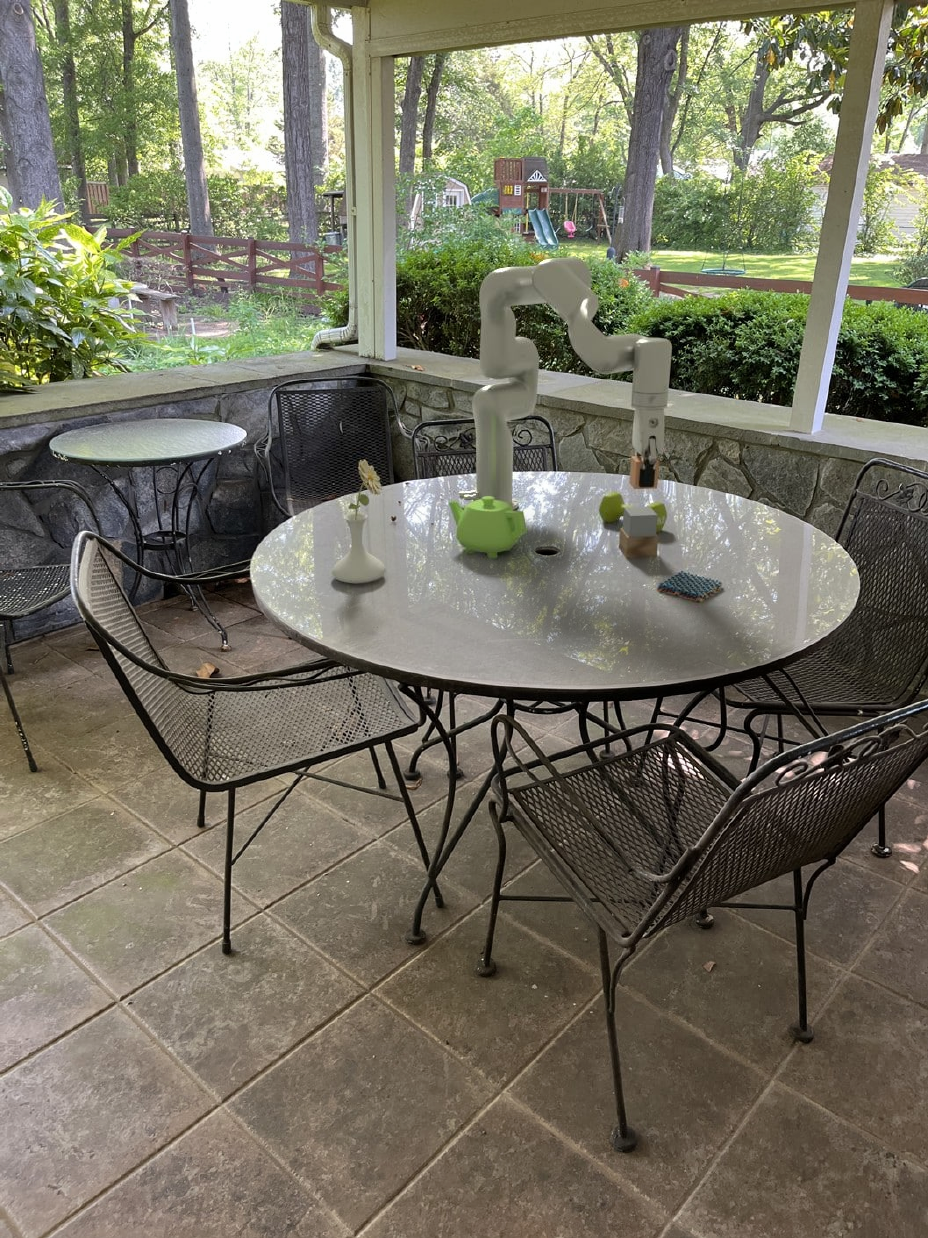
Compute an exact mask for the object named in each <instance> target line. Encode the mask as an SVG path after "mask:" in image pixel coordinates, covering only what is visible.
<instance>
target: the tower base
mask: <svg viewBox="0 0 928 1238" xmlns="http://www.w3.org/2000/svg"><path fill="white" fill-rule="evenodd" d="M657 534H658V533H656V536H653V537H628V535H627V534H626V533H625V531H624V530H623V527H620V530H619V538H618V539H619V542H618V548H619V550H620V552H621V553H622V555H623V556H624V558H625V559H644V558H645V559H646V558H648V559H649V558H650V559H651V558H657V557H658V556H657V555H658V547H659V546H658V545H659V536H658V535H657Z"/></svg>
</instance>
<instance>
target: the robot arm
mask: <svg viewBox="0 0 928 1238" xmlns="http://www.w3.org/2000/svg"><path fill="white" fill-rule="evenodd" d="M591 284H592V273H591V269H590V267H589V266H588V264H587V263H586V262H585V261H584V260H582V259H581V258H578V257H575V256H573V257H572V256H571V257H554V258H552V257H551V258H547V259H544V260H542V261H541V262H538V264H537V265H531V266H509V267H502V268H498V269H495V270H493V271H491V272H489V273H488V274H487V275H486V276H485V277H484V278H483V281H482V282H481V285H480V288H479V297H478V298H479V308H480V318H481V319H480V320H481V321H480V323H481V324H480V341H479V342H480V345H479V367H480V369H479V370H480V373H481V374H482V375H483V376H484V378H486V379H488V380H504V379H508V382H507V381H506V382H499V383H493V384H488V385H485V386H483V387H481V388H479V389H478V390H477V391H476V392H475V393H474V395H473V397H472V401H471V408H472V414H473V420H474V424H475V425H474V426H475V427H474V428H475V443H476V444H475V445H476V446H475V447H476V449H475V450H476V452H475V454H476V455H475V456H476V465H475V466H476V469H475V470H476V473H475V474H476V477H475V478H476V479H475V480H476V481H475V482H476V485H475V487H474V489H473V490H472V489H471V490H470V491H464V490H463V491H462V490H461V491H458V494H459V496H458V497H459V499H461V500H462V499H464V501H470V503H471V502H473V501H476V500H479V499H482V497H485V496H492V497H494V498H495V499H494V500H499V501H503V502H506V503H508V504H510V506H511V507H512V509H513V511H515V510H516V509H517V508H518V506H519V501H518V500H517V499H516V498H514V497H513V479H514V478H513V475H514V474H513V473H514V472H513V470H514V469H513V468H514V438H513V435H512V434H513V433H512V432H511V430H510V428H509V426H508V423H507V422H509V421H514V420H518V419H519V420H520V419H524V418H526V417H528V416H531V414H532V413H533V412H534V409H535V407H536V404H537V397H538V383H539V381H538V380H539V369H540V368H539V367H540V358H539V357H540V356H539V352H538V349H537V347H536V345H535V343H534V342H533V341H532V340H531V339H530V338H529V337H528V338H527V337H525V336H516V331H517V330H516V329H517V321H516V318H515V314H514V312H513V310H512V308H511V307H513V306H526V305H528V306H529V305H536V304H537V305H538V304H539V305H540V304H545V303H546V304H548V306H549V307H550V308H551V309H552V310H553V311H554V312H555V313H556V314H557V315H558V316H559V317H560V318H561V319H562V320H563V322H565V323H566V324H567V326H568V328H567V331H568V337H569V341H570V344H571V347H572V349H573V350H574V352H575V353H576V354H577V355H578V357H579V358H580V359H581V360H582V361H583V362H584V363H585V365H587V366H588V367H589V368H591V369H592V370H593V371H594V372H596V373H598V374H602V375H610V374H616V373H622V372H629V371H632V372H633V373H632V388H631V401H630V403H631V404H630V407H631V408H634V414H633V422H632V423H633V425H632V437H631V438H632V439H631V440H632V445H631V446H632V447H633V449H635V450H634V451H635V452H634V456H642V469H640V476H639V487H653V486H654V479H655V467H656V459H657V460H658V457H657V455H658V456H663V455H664V451H665V450H664V447H665V444H664V443H665V409H666V408H668V400H669V388H670V387H669V385H670V375H671V365H672V364H671V362H672V352H673V351H672V350H673V348H672V347H673V346H672V343H671V341H670V340H669V339H668V338H667V339H666V338H662V337H647V336H645V335H642V334H637V333H626V334H616V335H611V336H610V335H609V336H606V335H605V334H603V333H602V332H601V330H599V328H597V327H596V325H595V324H594V323H593V322H592V319H593V318H594V317H595V315H596V314H597V312H598V309H599V305H600V302H599V301H600V300H599V297H598V295H596V293H595V292H593V290H591V289H590V286H591ZM645 458H649V459H647V460H646V462H645Z"/></svg>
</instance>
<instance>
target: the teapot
mask: <svg viewBox="0 0 928 1238" xmlns="http://www.w3.org/2000/svg"><path fill="white" fill-rule="evenodd" d="M494 499H495V498H494V497H492V496H485V497H482V499H479V500H476V501H473V502H471V501H470V502H469V503H467V504H466V506H465V507H464V508H463V507H462V506H461V505H460V504H459V502H458V500H457V501H456V500H451V501H449V502H448V505H449V507H450V510H451V513H452V516H453V518H454V521H455V524H456V526H457V527H456V531H455V532H456V533H455V534H456V539H457V541H458V543H459V544H460V545H461V546H462V547H463V548H465V550H464V551H463V552H464V553H465V554H473V553H476V552H479V553H486V558H488V559H498V553H503V552H506V551H511V550H512V547H514V546H515V545H516V544H517V542H518V541H519V539H520V537H522V536H524V535H525V534H527V533H528V528H527V524H526V519H525V514H524V511H523V510H513V509H512V507H511V506H510V504H508V503H506V502H503V501H499V500H494Z"/></svg>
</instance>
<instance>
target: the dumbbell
mask: <svg viewBox="0 0 928 1238" xmlns="http://www.w3.org/2000/svg"><path fill="white" fill-rule="evenodd" d="M599 504H600V505H599V508H598V512H599V516H600V519H601V520H602V521H603V522H604V523H615V522H616V521H618V520H620V519H621V517H623V515H624V508H627V507H635V505H634V506H633V505H629V504H625V502H624V498H623V496H622V495H621V493H620V492H618V491H611V492H609V493H606V494H604V495H603V496H602V499H601V502H600V503H599ZM645 507H651V508H652V509H653V511H654V512H655V513H656V514H657V525H656V534H658V533H660V532H661V531H662V530H663V529H664V527H665V524H666V521H667V518H668V513H667V508H666V505H665V504H664V503H663V502H659V501H654V502H651V503H649V504H647V505H646V506H645Z"/></svg>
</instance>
